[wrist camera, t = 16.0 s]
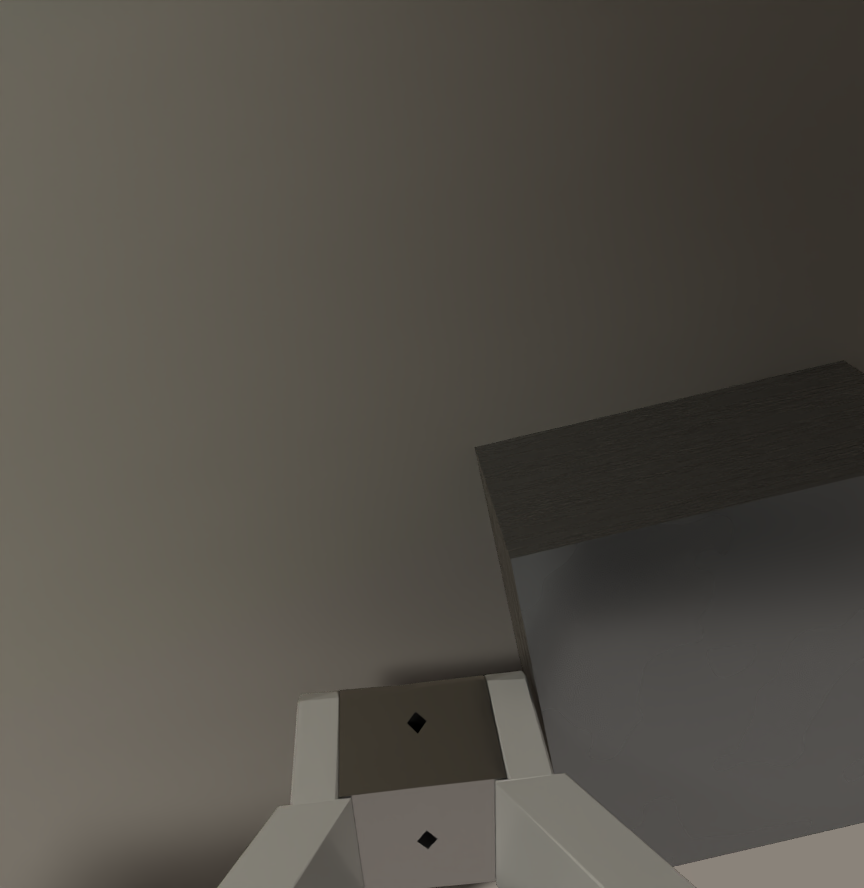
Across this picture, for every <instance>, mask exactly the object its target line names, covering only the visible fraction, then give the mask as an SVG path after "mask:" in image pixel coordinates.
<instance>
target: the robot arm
mask: <svg viewBox="0 0 864 888" xmlns="http://www.w3.org/2000/svg"><path fill="white" fill-rule="evenodd" d="M494 881H496V885H497V886H498V887H499V888H696V887H695V886H694V885H693V884H691V883H690V882H689V881H688V880H687V879H686V878H685V877H683V876H682V875H681V874H680V873H679V872H678V871H677V870H675V869H674V868H673V867H672V866H671V865H670V864H669V863H668V862H666V861H665V860H664V859H663V858H662V857H661V856H660V855H658V854H657V853H656V852H655V851H654V850H653V849H652V848H650V847H649V846H648V845H647V844H646V843H645V842H644V841H642V840H641V839H640V838H639V837H638V836H637V835H636V834H634V833H633V832H632V831H631V830H630V829H629V828H628V827H627V826H625V825H624V824H623V823H622V822H621V821H620V820H619V819H617V818H616V817H615V816H614V815H613V814H612V813H611V812H609V811H608V810H607V809H606V808H605V807H604V806H603V805H601V804H600V803H599V802H598V801H597V800H596V799H595V798H593V797H592V796H591V795H590V794H589V793H588V792H587V791H586V790H584V789H583V788H582V787H581V786H580V785H579V784H578V783H576V782H575V781H574V780H573V779H572V778H571V777H570V776H568V775H567V774H566V773H561V774H554V773H553V769H552V766H551V762H550V759H549V755H548V751H547V748H546V744H545V741H544V737H543V734H542V730H541V727H540V723H539V720H538V716H537V713H536V709H535V706H534V702H533V699H532V695H531V692H530V688H529V685H528V681H527V678H526V675H525V674H524V673H523V672H522V671H514V672H506V673H497V674H489V675H485V676H483V675H480V676H471V677H463V678H454V679H446V680H437V681H429V682H420V683H412V684H407V685H395V686H383V687H371V688H358V689H346V690H340V691H332V692H319V693H307V694H301V695H300V698H299V701H298V704H297V718H296V732H295V746H294V759H293V773H292V787H291V801H290V805H284V806H278V807H277V809H276V810H275V811H274V813H273V814H272V815H271V817H270V818H269V819H268V821H267V822H266V823H265V825H264V826H263V827H262V829H261V830H260V831H259V833H258V834H257V835H256V837H255V838H254V839H253V841H252V842H251V843H250V845H249V846H248V847H247V849H246V850H245V851H244V853H243V854H242V855H241V856H240V858H239V859H238V860H237V862H236V863H235V864H234V866H233V867H232V868H231V870H230V871H229V872H228V874H227V875H226V876H225V878H224V879H223V880H222V882H221V883H220V884H219V886H218V887H217V888H431V887H441V886H452V885H462V884H473V883H483V882H494Z"/></svg>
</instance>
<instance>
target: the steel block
mask: <svg viewBox="0 0 864 888" xmlns="http://www.w3.org/2000/svg"><path fill="white" fill-rule="evenodd" d="M475 451H476V456H477V460H478V465H479V470H480V475H481V479H482V484H483V489H484V493H485V498H486V503H487V507H488V512H489V517H490V521H491V526H492V531H493V536H494V540H495V545H496V550H497V554H498V559H499V564H500V568H501V573H502V578H503V582H504V587H505V592H506V597H507V601H508V606H509V611H510V615H511V620H512V625H513V629H514V634H515V639H516V643H517V648H518V653H519V658H520V662H521V667H522V672H523V673H524V674H525V675H526V678H527V681H528V685H529V688H530V692H531V695H532V699H533V702H534V706H535V709H536V713H537V716H538V720H539V723H540V727H541V730H542V734H543V737H544V741H545V744H546V748H547V751H548V755H549V759H550V762H551V766H552V769H553V773H554V774H561V773H566V774H567V775H568V776H570V777H571V778H572V779H573V780H574V781H575V782H576V783H578V784H579V785H580V786H581V787H582V788H583V789H584V790H586V791H587V792H588V793H589V794H590V795H591V796H592V797H593V798H595V799H596V800H597V801H598V802H599V803H600V804H601V805H603V806H604V807H605V808H606V809H607V810H608V811H609V812H611V813H612V814H613V815H614V816H615V817H616V818H617V819H619V820H620V821H621V822H622V823H623V824H624V825H625V826H627V827H628V828H629V829H630V830H631V831H632V832H633V833H634V834H636V835H637V836H638V837H639V838H640V839H641V840H642V841H644V842H645V843H646V844H647V845H648V846H649V847H650V848H652V849H653V850H654V851H655V852H656V853H657V854H658V855H660V856H661V857H662V858H663V859H664V860H665V861H666V862H668V863H669V864H670V865H671V866H672V867H674V866H678V865H682V864H687V863H691V862H695V861H700V860H704V859H708V858H712V857H717V856H721V855H725V854H730V853H734V852H738V851H743V850H747V849H751V848H755V847H760V846H764V845H768V844H773V843H777V842H781V841H786V840H790V839H794V838H798V837H802V836H807V835H811V834H816V833H820V832H824V831H829V830H833V829H837V828H842V827H846V826H850V825H854V824H859V823H863V822H864V374H863V373H862V372H860V371H859V370H857V369H856V368H854V367H853V366H851V365H850V364H848V363H847V362H845V361H840V362H836V363H831V364H827V365H823V366H819V367H814V368H810V369H806V370H802V371H797V372H793V373H789V374H785V375H780V376H776V377H772V378H768V379H763V380H759V381H755V382H751V383H746V384H742V385H738V386H734V387H729V388H725V389H721V390H717V391H712V392H708V393H704V394H700V395H695V396H691V397H687V398H683V399H678V400H674V401H670V402H666V403H661V404H657V405H653V406H649V407H644V408H640V409H636V410H632V411H627V412H623V413H619V414H615V415H610V416H606V417H602V418H598V419H593V420H589V421H585V422H581V423H577V424H572V425H568V426H564V427H560V428H555V429H551V430H547V431H543V432H538V433H534V434H530V435H526V436H521V437H517V438H513V439H509V440H504V441H500V442H496V443H492V444H487V445H483V446H479V447H475Z"/></svg>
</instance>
